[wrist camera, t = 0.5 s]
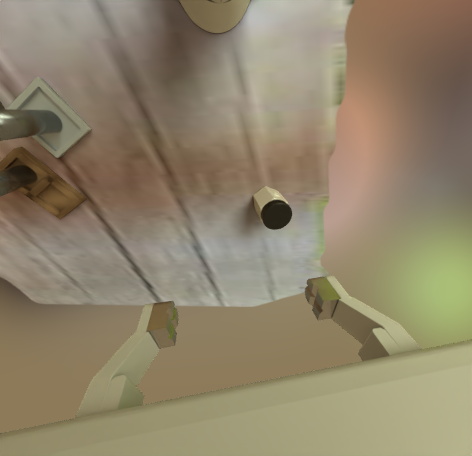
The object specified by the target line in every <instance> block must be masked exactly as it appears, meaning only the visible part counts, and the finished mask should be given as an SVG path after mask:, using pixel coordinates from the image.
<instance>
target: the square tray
mask: <svg viewBox="0 0 472 456" xmlns="http://www.w3.org/2000/svg"><path fill="white" fill-rule="evenodd" d="M7 109H12V110H49V111H52V112H54V113H55V114H56V115H57V116H58V117H59V118H60V120H61V122H62V126H63V127H62V130H61V131H60V132H56V133H49V134H42V135H36V136H31V137H33V138H34V139H35V140H36V141H37V142H39V143H40V144H41V145H42V146H43V147H44V148H46V149H47V150H48V151H49V152H50V153H52V154H53V155H54V156H55V157H56V158H59V157H62V156H63V155H64V154H65V153H66V152H67V151H68V150H69V149H71V148H72V147H73V146H74V145H75V144H76V143H77V142H78V141H80V140H81V139H82V138H83V137H84V136H85V135H86V134H87V133H89V132H90V131H91V130H92V129H91V128H90V127H89V126H88V125H87V124H86V123H85V122H84V121H83V120H82V119H81V118H80V117H79V116H78V115H77V114H76V113H75V112H74V111H73V110H72V109H71V108H70V107H69V106H68V105H67V104H66V102H65V101H64V100H63V99H62V98H61V97H60V96H59V95H58V94H57V93H56V92H55V91H54V90H53V89H52V88H51V87H50V86H49V85H48V84H47V83H46V82H45V81H44V80H43V79H42V78H37V77H36V78H35V79H34V80H33V81H32V82H31V84H30V85H29V86H28V87H27V88H26V89H25V90H24V91H23V92H22V93H21V94H20V95H19V96H18V97H17V98H16V99H15V100H14V101H13V102H12V103H11V105H10V106H9V107H8V108H7Z"/></svg>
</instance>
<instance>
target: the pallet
mask: <svg viewBox="0 0 472 456" xmlns="http://www.w3.org/2000/svg"><path fill="white" fill-rule="evenodd" d="M18 165H25V166H27V167H29V168H31V169H32V170H33V171H34V172H35V173H36V174H37V181H36V182H34V183H32V184H29V185H27V186H24V187H22V188H20V189H17V190H19V191H20V192H21V193H23V194H24V195H26V196H27V197H29V198H30V199H32V200H33V201H35V202H36V203H37V204H39V205H40V206H42V207H43V208H45V209H46V210H48V211H49V212H51V213H52V214H53V215H55V216H56V217H58V218H59V219H61V218H62V217H64V216H65V215H66V214H68V213H69V212H70V211H71V210H73V209H74V208H75V207H77V206H78V205H79V204H80V203H82V202H83V201H84V200H85V199H87V198H85V197H84V196H83V195H82V194H80V193H79V192H78V191H77V190H75V189H74V188H73V187H72V186H70V185H69V184H68V183H67V182H65V181H64V180H63V179H62V178H60V177H59V176H58V175H57V174H55V173H54V172H53V171H52V170H50V169H49V168H48V167H47V166H45V165H44V164H43V163H42V162H40V161H39V160H38V159H37V158H35V157H34V156H33V155H32V154H30V153H29V152H28V151H27V150H25V149H24V148H23V147H20V148H14V149H13V150H12V151H11V152H10V153H9V154H8V155H7V156H6V157H5V158H4V159H3V160H2V161H1V162H0V171H1V170H4V169H8V168H11V167H14V166H18Z"/></svg>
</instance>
